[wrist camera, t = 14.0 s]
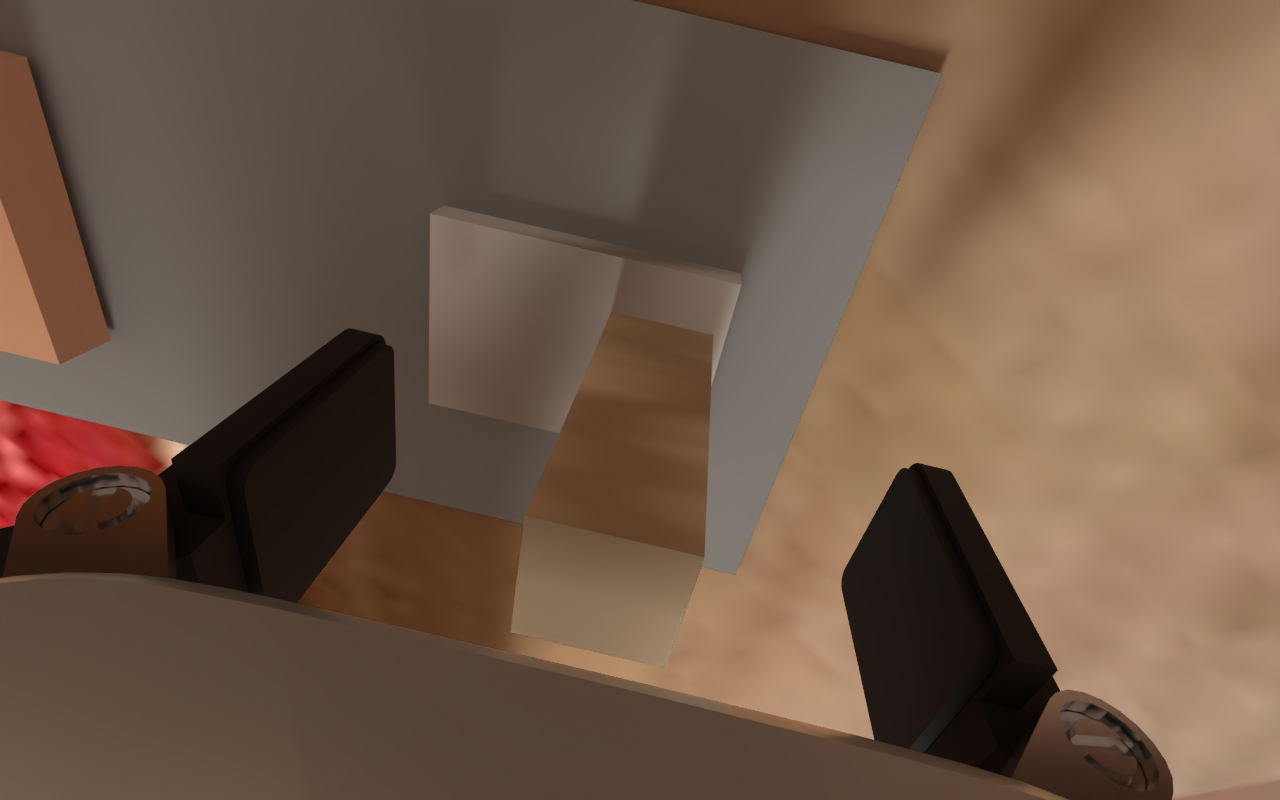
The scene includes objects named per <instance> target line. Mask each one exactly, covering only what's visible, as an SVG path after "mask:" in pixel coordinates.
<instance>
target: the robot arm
mask: <svg viewBox="0 0 1280 800" xmlns="http://www.w3.org/2000/svg"><path fill="white" fill-rule="evenodd" d="M171 460H172V465H171V466H170V467H168V468H167V469H166V470H164V471H163V472H162V473H160V474H159V475H156V474H155V473H154V472H152V471H149V470H145V469H142V468H139V467H129V466H111V467H99V468H94V469H90V470H86V471H81V472H77V473H74V474H71V475H69V476H66V477H63V478H61V479H58V480H56V481H54V482H52V483H50V484H48V485H47V486H45V487H43V488H41V489H40V490H38V491H36V492H35V493H34V494H33V495H32V496H31V497H30V498H29V499H27V500H26V501H25V502H24V503H23V504H22V506H21V508H20V510H19V512H18V514H17V516H16V519H15V524H14V526H10V527H6V528H1V529H0V800H1172V796H1173V777H1172V775H1171V773H1170V770H1169V768H1168V765H1167V763H1166V761H1165V759H1164V758H1163V756H1162V755H1161V753H1160V752H1159V750H1158V749H1157V747H1156V746H1155V745H1154V743H1153V742H1152V741H1151V740H1150V739H1149V738H1148V736H1147V735H1146V734H1145V733H1144V732H1143V731H1142V730H1141V729H1140V728H1139V727H1138V726H1137V725H1136V724H1135V723H1134V722H1132V721H1131V720H1130V719H1129V718H1127V717H1126V716H1125V715H1124V714H1123V713H1121V712H1120V711H1119V710H1117V709H1116V708H1114V707H1112V706H1111V705H1109V704H1107V703H1106V702H1104V701H1103V700H1101V699H1099V698H1096V697H1094V696H1091V695H1089V694H1086V693H1084V692H1079V691H1073V690H1064V691H1060V690H1059V688H1058V686H1057V684H1056V682H1055V680H1054V678H1053V675H1054V674H1055V673H1056V671H1057V668H1056V666H1055V664H1054V662H1053V660H1052V658H1051V657H1050V655H1049V653H1048V651H1047V649H1046V647H1045V645H1044V644H1043V642H1042V640H1041V638H1040V636H1039V634H1038V632H1037V630H1036V629H1035V627H1034V625H1033V623H1032V621H1031V619H1030V617H1029V616H1028V614H1027V612H1026V610H1025V608H1024V606H1023V604H1022V603H1021V601H1020V599H1019V597H1018V595H1017V593H1016V591H1015V589H1014V588H1013V586H1012V584H1011V582H1010V580H1009V578H1008V576H1007V575H1006V573H1005V571H1004V569H1003V567H1002V565H1001V563H1000V561H999V560H998V558H997V556H996V554H995V552H994V550H993V548H992V547H991V545H990V543H989V541H988V539H987V537H986V535H985V534H984V532H983V530H982V528H981V526H980V524H979V522H978V520H977V519H976V517H975V515H974V513H973V511H972V509H971V507H970V506H969V504H968V502H967V500H966V498H965V496H964V494H963V492H962V491H961V489H960V487H959V485H958V483H957V481H956V479H955V478H954V476H953V474H952V473H951V472H950V471H948V470H945V469H941V468H937V467H932V466H928V465H924V464H920V463H915V464H913V465H912V466H911V467H910V468H909V469H906V468H903V469H901V470H900V471H899V472H898V473H897V475H896V477H895V479H894V480H893V482H892V484H891V486H890V488H889V489H888V491H887V493H886V495H885V497H884V499H883V500H882V502H881V504H880V506H879V508H878V510H877V511H876V513H875V515H874V517H873V519H872V520H871V522H870V524H869V526H868V528H867V530H866V531H865V533H864V535H863V537H862V539H861V540H860V542H859V544H858V546H857V548H856V550H855V551H854V553H853V555H852V557H851V559H850V560H849V562H848V564H847V566H846V568H845V570H844V572H843V576H842V593H843V597H844V602H845V606H846V611H847V616H848V620H849V625H850V629H851V634H852V639H853V643H854V648H855V652H856V657H857V662H858V666H859V671H860V675H861V680H862V685H863V689H864V694H865V698H866V703H867V707H868V712H869V717H870V721H871V726H872V730H873V735H874V740H872V739H868V738H864V737H860V736H856V735H852V734H848V733H844V732H840V731H836V730H832V729H828V728H824V727H820V726H816V725H811V724H807V723H803V722H799V721H795V720H791V719H787V718H783V717H779V716H775V715H770V714H766V713H762V712H758V711H754V710H750V709H746V708H742V707H738V706H734V705H729V704H725V703H721V702H717V701H713V700H709V699H705V698H701V697H697V696H692V695H688V694H684V693H680V692H676V691H672V690H667V689H663V688H659V687H655V686H651V685H646V684H642V683H638V682H634V681H630V680H626V679H621V678H617V677H613V676H609V675H605V674H600V673H596V672H592V671H588V670H584V669H579V668H575V667H571V666H567V665H563V664H558V663H554V662H550V661H546V660H541V659H537V658H533V657H529V656H525V655H520V654H516V653H512V652H508V651H503V650H499V649H495V648H491V647H486V646H482V645H478V644H473V643H469V642H465V641H461V640H456V639H452V638H448V637H443V636H439V635H435V634H430V633H426V632H422V631H418V630H413V629H409V628H405V627H400V626H396V625H392V624H387V623H383V622H379V621H374V620H370V619H366V618H362V617H357V616H353V615H349V614H344V613H340V612H336V611H331V610H327V609H322V608H317V607H313V606H308V605H303V604H299V603H297V602H298V600H299V599H300V598H301V596H302V595H303V594H304V593H305V591H306V590H307V589H308V587H309V586H310V585H311V583H312V582H313V581H314V580H315V578H316V577H317V576H318V574H319V573H320V572H321V570H322V569H323V568H324V567H325V565H326V564H327V563H328V561H329V560H330V559H331V557H332V556H333V555H334V554H335V552H336V551H337V550H338V548H339V547H340V546H341V544H342V543H343V542H344V541H345V539H346V538H347V537H348V535H349V534H350V533H351V531H352V530H353V529H354V528H355V526H356V525H357V524H358V522H359V521H360V520H361V519H362V517H363V516H364V515H365V513H366V512H367V511H368V509H369V508H370V507H371V506H372V504H373V503H374V502H375V500H376V499H377V498H378V496H379V495H380V494H381V493H382V491H383V490H384V489H385V487H386V486H387V485H388V483H389V482H390V480H391V479H392V477H393V474H394V471H395V467H396V426H395V372H394V350H393V348H392V347H391V346H390V345H386V342H385V339H384V337H382V336H381V335H378V334H374V333H369V332H365V331H361V330H357V329H353V328H348V329H346V330H344V331H343V332H341V333H340V334H338V335H337V336H336V337H334V338H333V339H332V340H330V341H329V342H328V343H326V344H325V345H324V346H322V347H321V348H320V349H318V350H317V351H316V352H314V353H313V354H312V355H310V356H309V357H308V358H306V359H305V360H304V361H302V362H301V363H300V364H298V365H297V366H296V367H294V368H293V369H291V370H290V371H289V372H287V373H286V374H285V375H283V376H282V377H281V378H279V379H278V380H277V381H275V382H274V383H273V384H271V385H270V386H269V387H267V388H266V389H265V390H263V391H262V392H261V393H259V394H258V395H257V396H255V397H254V398H253V399H251V400H250V401H249V402H247V403H246V404H244V405H243V406H242V407H240V408H239V409H238V410H236V411H235V412H234V413H232V414H231V415H230V416H228V417H227V418H226V419H224V420H223V421H222V422H220V423H219V424H218V425H216V426H215V427H214V428H212V429H211V430H210V431H208V432H207V433H206V434H204V435H203V436H202V437H200V438H199V439H197V440H196V441H195V442H193V443H192V444H191V445H189V446H188V447H187V448H185V449H184V450H183V451H181V452H180V453H179V454H177V455H176V456H175V457H173V458H172V459H171Z"/></svg>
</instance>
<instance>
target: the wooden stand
mask: <svg viewBox="0 0 1280 800" xmlns="http://www.w3.org/2000/svg"><path fill="white" fill-rule="evenodd" d="M740 288H741V273H738V272H733V271H729V270H725V269H720V268H716V267H711V266H707V265H703V264H698V263H694V262H690V261H685V260H681V259H677V258H672V257H668V256H663V255H659V254H655V253H650V252H646V251H642V250H637V249H633V248H628V247H624V246H620V245H615V244H611V243H607V242H602V241H598V240H594V239H589V238H585V237H580V236H576V235H572V234H567V233H563V232H559V231H554V230H550V229H545V228H541V227H537V226H532V225H528V224H524V223H519V222H515V221H511V220H506V219H502V218H497V217H493V216H489V215H484V214H480V213H476V212H471V211H467V210H462V209H458V208H454V207H449V206H445V205H444V206H443V207H441V208H439V209H437V210H436V211H434V212H432V213H430V289H429V403H430V404H435V405H439V406H443V407H448V408H452V409H456V410H461V411H465V412H469V413H474V414H478V415H482V416H487V417H491V418H495V419H500V420H504V421H508V422H513V423H517V424H521V425H526V426H530V427H534V428H539V429H543V430H547V431H552V432H556V433H559V436H558V438H557V440H556V443H555V445H554V447H553V450H552V452H551V454H550V457H549V459H548V461H547V464H546V466H545V469H544V471H543V473H542V476H541V478H540V480H539V483H538V485H537V487H536V490H535V492H534V494H533V497H532V499H531V501H530V504H529V506H528V508H527V511H526V513H525V515H524V523H523V532H522V540H521V548H520V556H519V565H518V573H517V581H516V589H515V598H514V606H513V614H512V622H511V631H510V632H511V633H516V634H520V635H524V636H529V637H533V638H537V639H542V640H546V641H550V642H554V643H559V644H563V645H567V646H572V647H576V648H580V649H585V650H589V651H593V652H598V653H602V654H606V655H610V656H615V657H619V658H623V659H628V660H632V661H636V662H641V663H645V664H649V665H654V666H658V667H662V668H666V665H667V663H668V660H669V657H670V654H671V651H672V648H673V646H674V643H675V640H676V637H677V634H678V631H679V629H680V626H681V623H682V620H683V617H684V614H685V612H686V609H687V606H688V603H689V600H690V597H691V595H692V592H693V589H694V586H695V583H696V580H697V577H698V575H699V572H700V569H701V566H702V563H703V560H704V558H705V534H706V508H707V482H708V455H709V429H710V403H711V386H712V383H713V379H714V376H715V372H716V369H717V366H718V362H719V359H720V356H721V352H722V349H723V346H724V342H725V339H726V335H727V332H728V329H729V325H730V322H731V319H732V315H733V312H734V309H735V305H736V302H737V298H738V295H739V292H740Z"/></svg>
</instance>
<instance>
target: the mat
mask: <svg viewBox="0 0 1280 800" xmlns="http://www.w3.org/2000/svg"><path fill="white" fill-rule="evenodd" d="M0 50H1V51H5V52H9V53H14V54H18V55H22V56H26V57H27V60H28V64H29V67H30V70H31V74H32V77H33V80H34V84H35V87H36V90H37V94H38V97H39V101H40V104H41V107H42V111H43V114H44V117H45V121H46V124H47V127H48V131H49V134H50V138H51V141H52V144H53V148H54V151H55V154H56V158H57V161H58V164H59V168H60V171H61V174H62V178H63V181H64V185H65V188H66V191H67V195H68V198H69V201H70V205H71V208H72V211H73V215H74V218H75V222H76V225H77V228H78V232H79V235H80V238H81V242H82V245H83V248H84V252H85V255H86V258H87V262H88V265H89V269H90V272H91V275H92V279H93V282H94V285H95V289H96V292H97V295H98V299H99V302H100V305H101V309H102V312H103V316H104V319H105V322H106V326H107V329H108V332H109V336H110V339H111V340H110V341H108V342H106V343H104V344H102V345H100V346H98V347H96V348H94V349H92V350H89V351H87V352H85V353H83V354H81V355H79V356H77V357H75V358H73V359H71V360H69V361H66V362H64V363H62V364H60V365H59V364H54V363H50V362H46V361H42V360H38V359H33V358H29V357H25V356H21V355H17V354H12V353H8V352H4V351H0V400H2V401H6V402H10V403H15V404H19V405H23V406H27V407H31V408H36V409H40V410H44V411H48V412H52V413H57V414H61V415H65V416H69V417H73V418H78V419H82V420H86V421H90V422H94V423H99V424H103V425H107V426H111V427H115V428H120V429H124V430H128V431H132V432H136V433H141V434H145V435H149V436H153V437H157V438H162V439H166V440H170V441H174V442H178V443H183V444H187V445H191V444H192V443H193V442H195V441H196V440H197V439H199V438H200V437H202V436H203V435H204V434H206V433H207V432H208V431H210V430H211V429H212V428H214V427H215V426H216V425H218V424H219V423H220V422H222V421H223V420H224V419H226V418H227V417H228V416H230V415H231V414H232V413H234V412H235V411H236V410H238V409H239V408H240V407H242V406H243V405H244V404H246V403H247V402H249V401H250V400H251V399H253V398H254V397H255V396H257V395H258V394H259V393H261V392H262V391H263V390H265V389H266V388H267V387H269V386H270V385H271V384H273V383H274V382H275V381H277V380H278V379H279V378H281V377H282V376H283V375H285V374H286V373H287V372H289V371H290V370H291V369H293V368H294V367H296V366H297V365H298V364H300V363H301V362H302V361H304V360H305V359H306V358H308V357H309V356H310V355H312V354H313V353H314V352H316V351H317V350H318V349H320V348H321V347H322V346H324V345H325V344H326V343H328V342H329V341H330V340H332V339H333V338H334V337H336V336H337V335H338V334H340V333H341V332H343V331H344V330H346V329H348V328H353V329H357V330H361V331H365V332H369V333H374V334H378V335H381V336H382V337H384V339H385V342H386V345H390V346H391V347H392V348H393V350H394V372H395V426H396V467H395V471H394V474H393V477H392V479H391V480H390V482H389V483H388V485H387V486H386V487H385V489H384V490H383V491H384V492H388V493H393V494H397V495H401V496H405V497H409V498H414V499H418V500H422V501H426V502H430V503H435V504H439V505H443V506H447V507H451V508H456V509H460V510H464V511H468V512H472V513H477V514H481V515H485V516H489V517H493V518H498V519H502V520H506V521H510V522H514V523H519V524H523V523H524V515H525V513H526V511H527V508H528V506H529V504H530V501H531V499H532V497H533V494H534V492H535V490H536V487H537V485H538V483H539V480H540V478H541V476H542V473H543V471H544V469H545V466H546V464H547V461H548V459H549V457H550V454H551V452H552V450H553V447H554V445H555V443H556V440H557V438H558V436H559V433H556V432H552V431H547V430H543V429H539V428H534V427H530V426H526V425H521V424H517V423H513V422H508V421H504V420H500V419H495V418H491V417H487V416H482V415H478V414H474V413H469V412H465V411H461V410H456V409H452V408H448V407H443V406H439V405H435V404H430V403H429V289H430V213H432V212H434V211H436V210H437V209H439V208H441V207H443V206H444V205H445V206H449V207H454V208H458V209H462V210H467V211H471V212H476V213H480V214H484V215H489V216H493V217H497V218H502V219H506V220H511V221H515V222H519V223H524V224H528V225H532V226H537V227H541V228H545V229H550V230H554V231H559V232H563V233H567V234H572V235H576V236H580V237H585V238H589V239H594V240H598V241H602V242H607V243H611V244H615V245H620V246H624V247H628V248H633V249H637V250H642V251H646V252H650V253H655V254H659V255H663V256H668V257H672V258H677V259H681V260H685V261H690V262H694V263H698V264H703V265H707V266H711V267H716V268H720V269H725V270H729V271H733V272H738V273H741V288H740V292H739V295H738V298H737V302H736V305H735V309H734V312H733V315H732V319H731V322H730V325H729V329H728V332H727V335H726V339H725V342H724V346H723V349H722V352H721V356H720V359H719V362H718V366H717V369H716V372H715V376H714V379H713V383H712V386H711V403H710V429H709V455H708V482H707V508H706V534H705V558H704V560H703V563H702V566H701V567H703V568H708V569H712V570H716V571H720V572H724V573H729V574H733V575H736V572H737V570H738V568H739V565H740V563H741V560H742V558H743V556H744V553H745V551H746V548H747V546H748V543H749V541H750V539H751V536H752V534H753V531H754V529H755V527H756V524H757V522H758V519H759V517H760V514H761V512H762V510H763V507H764V505H765V502H766V500H767V498H768V495H769V493H770V490H771V488H772V485H773V483H774V481H775V478H776V476H777V473H778V471H779V469H780V466H781V464H782V461H783V459H784V456H785V454H786V452H787V449H788V447H789V444H790V442H791V440H792V437H793V435H794V432H795V430H796V427H797V425H798V423H799V420H800V418H801V415H802V413H803V411H804V408H805V406H806V403H807V401H808V398H809V396H810V394H811V391H812V389H813V386H814V384H815V382H816V379H817V377H818V374H819V372H820V369H821V367H822V365H823V362H824V360H825V357H826V355H827V353H828V350H829V348H830V345H831V343H832V340H833V338H834V336H835V333H836V331H837V328H838V326H839V324H840V321H841V319H842V316H843V314H844V311H845V309H846V307H847V304H848V302H849V299H850V297H851V295H852V292H853V290H854V287H855V285H856V282H857V280H858V278H859V275H860V273H861V270H862V268H863V266H864V263H865V261H866V258H867V256H868V253H869V251H870V249H871V246H872V244H873V241H874V239H875V237H876V234H877V232H878V229H879V227H880V225H881V222H882V220H883V217H884V215H885V212H886V210H887V208H888V205H889V203H890V200H891V198H892V196H893V193H894V191H895V188H896V186H897V183H898V181H899V179H900V176H901V174H902V171H903V169H904V167H905V164H906V162H907V159H908V157H909V154H910V152H911V150H912V147H913V145H914V142H915V140H916V138H917V135H918V133H919V130H920V128H921V125H922V123H923V121H924V118H925V116H926V113H927V111H928V109H929V106H930V104H931V101H932V99H933V96H934V94H935V92H936V89H937V87H938V84H939V82H940V80H941V77H942V75H943V74H941V73H937V72H933V71H928V70H924V69H920V68H916V67H912V66H907V65H903V64H899V63H895V62H891V61H886V60H882V59H878V58H874V57H870V56H865V55H861V54H857V53H853V52H849V51H844V50H840V49H836V48H832V47H828V46H823V45H819V44H815V43H811V42H807V41H802V40H798V39H794V38H790V37H786V36H781V35H777V34H773V33H769V32H765V31H760V30H756V29H752V28H748V27H744V26H739V25H735V24H731V23H727V22H723V21H718V20H714V19H710V18H706V17H702V16H697V15H693V14H689V13H685V12H681V11H676V10H672V9H668V8H664V7H660V6H655V5H651V4H647V3H643V2H639V1H634V0H0Z"/></svg>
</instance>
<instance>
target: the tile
mask: <svg viewBox="0 0 1280 800" xmlns="http://www.w3.org/2000/svg"><path fill="white" fill-rule="evenodd" d="M110 340H111V339H110V336H109V332H108V329H107V326H106V322H105V319H104V316H103V312H102V309H101V305H100V302H99V299H98V295H97V292H96V289H95V285H94V282H93V279H92V275H91V272H90V269H89V265H88V262H87V258H86V255H85V252H84V248H83V245H82V242H81V238H80V235H79V232H78V228H77V225H76V222H75V218H74V215H73V211H72V208H71V205H70V201H69V198H68V195H67V191H66V188H65V185H64V181H63V178H62V174H61V171H60V168H59V164H58V161H57V158H56V154H55V151H54V148H53V144H52V141H51V138H50V134H49V131H48V127H47V124H46V121H45V117H44V114H43V111H42V107H41V104H40V101H39V97H38V94H37V90H36V87H35V84H34V80H33V77H32V74H31V70H30V67H29V64H28V60H27V57H26V56H22V55H18V54H14V53H9V52H5V51H1V50H0V351H4V352H8V353H12V354H17V355H21V356H25V357H29V358H33V359H38V360H42V361H46V362H50V363H54V364H59V365H60V364H62V363H64V362H66V361H69V360H71V359H73V358H75V357H77V356H79V355H81V354H83V353H85V352H87V351H89V350H92V349H94V348H96V347H98V346H100V345H102V344H104V343H106V342H108V341H110Z"/></svg>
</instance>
